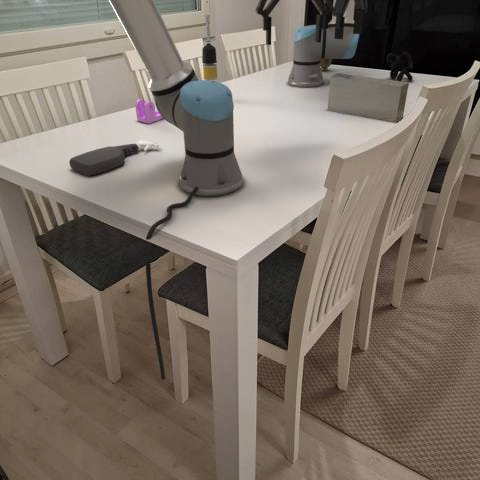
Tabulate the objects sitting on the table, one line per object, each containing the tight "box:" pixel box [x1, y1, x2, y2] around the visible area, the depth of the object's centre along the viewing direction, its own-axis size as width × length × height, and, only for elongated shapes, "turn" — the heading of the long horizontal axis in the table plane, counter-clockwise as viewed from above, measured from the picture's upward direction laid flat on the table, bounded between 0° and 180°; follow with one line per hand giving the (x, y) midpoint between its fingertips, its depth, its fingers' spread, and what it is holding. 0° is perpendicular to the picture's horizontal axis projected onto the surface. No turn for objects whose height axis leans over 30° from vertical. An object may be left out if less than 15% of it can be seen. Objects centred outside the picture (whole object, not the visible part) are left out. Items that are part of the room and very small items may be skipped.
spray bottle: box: [68, 139, 160, 177], centre depth 124 cm, size 3×11×24 cm
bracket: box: [134, 98, 164, 124], centre depth 156 cm, size 13×6×7 cm, turn 143°
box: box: [326, 73, 410, 123], centre depth 155 cm, size 26×6×12 cm, turn 52°
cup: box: [320, 59, 333, 72], centre depth 218 cm, size 8×7×8 cm
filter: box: [201, 14, 218, 82], centre depth 171 cm, size 6×6×30 cm
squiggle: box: [385, 51, 414, 82], centre depth 198 cm, size 11×10×15 cm
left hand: (293, 43), depth 119 cm, fingers open, 13 cm apart
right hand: (348, 36), depth 150 cm, fingers open, 13 cm apart
